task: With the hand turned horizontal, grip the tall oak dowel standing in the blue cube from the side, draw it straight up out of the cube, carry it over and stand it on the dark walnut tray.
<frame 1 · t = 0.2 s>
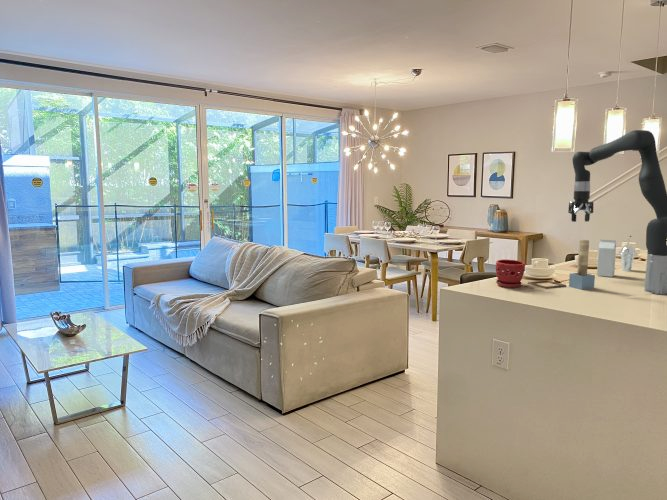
hand: (580, 221, 259), 29 cm above the table, tool pointing down, fingers open, 8 cm apart
oak dowel: (581, 287, 230), point 1 cm above the table, touching blue cube
plant pot: (509, 286, 238), on the table
walnut tray: (546, 286, 235), on the table
blue cube: (581, 289, 230), on the table
cup with straw: (626, 270, 276), on the table
milk carton: (605, 275, 262), on the table
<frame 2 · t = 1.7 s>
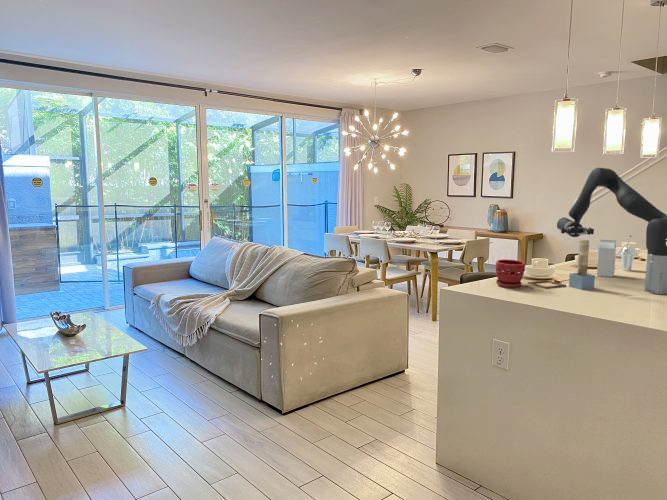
hand: (579, 232, 237), 25 cm above the table, tool horizontal, fingers open, 8 cm apart
nothing on the table moved.
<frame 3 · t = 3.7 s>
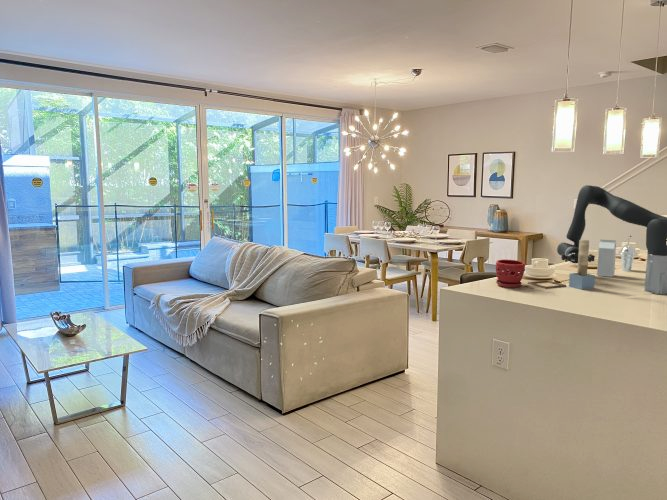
hand: (580, 259, 234), 13 cm above the table, tool horizontal, fingers open, 8 cm apart
nothing on the table moved.
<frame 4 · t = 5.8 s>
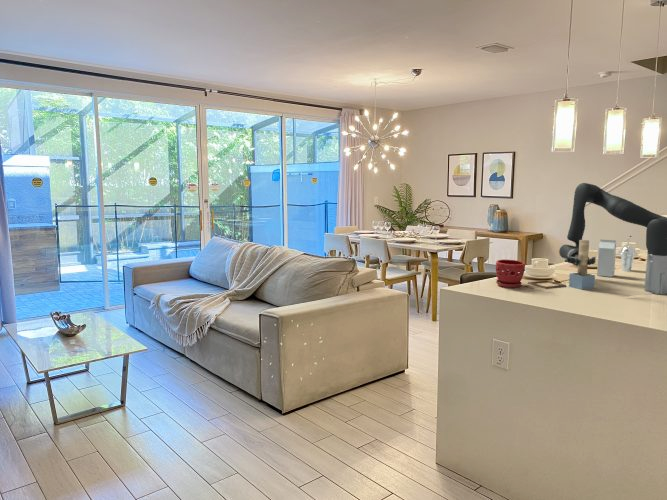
hand: (584, 262, 225), 13 cm above the table, tool horizontal, fingers closed on oak dowel, 4 cm apart
oak dowel: (581, 287, 230), point 1 cm above the table, touching gripper, blue cube
everything else where it was.
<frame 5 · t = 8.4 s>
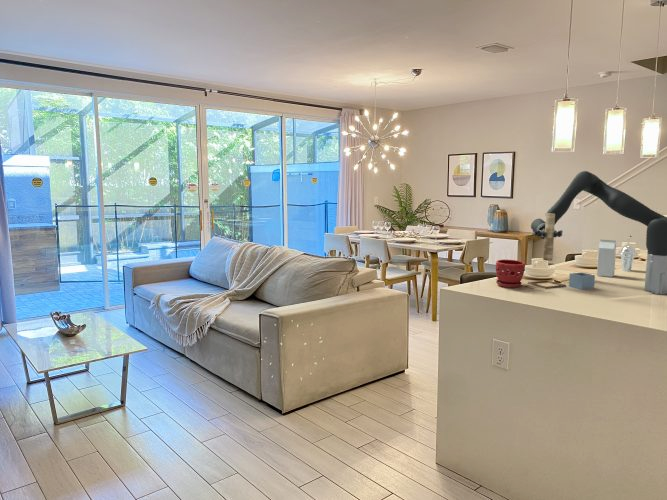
hand: (550, 235, 230), 25 cm above the table, tool horizontal, fingers closed on oak dowel, 4 cm apart
oak dowel: (547, 260, 234), point 13 cm above the table, touching gripper
everything else where it was.
when the fingers open (14 cm above the table, at t = 10.9 s): oak dowel stays where it is, resting on walnut tray.
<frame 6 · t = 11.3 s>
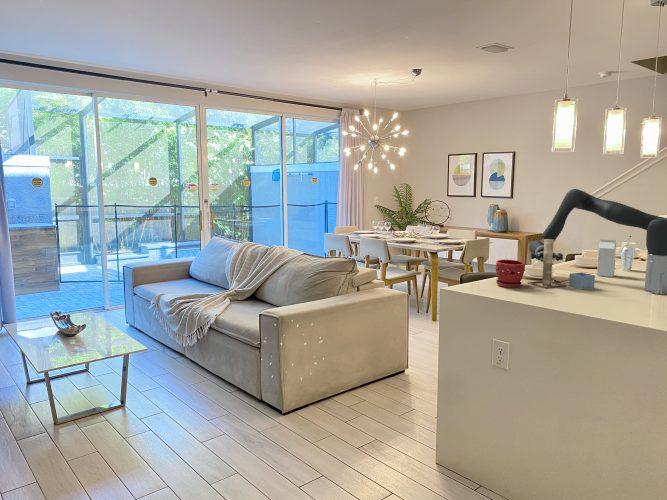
hand: (548, 258, 232), 14 cm above the table, tool horizontal, fingers open, 8 cm apart
oak dowel: (546, 285, 235), point 1 cm above the table, touching walnut tray
everything else where it was.
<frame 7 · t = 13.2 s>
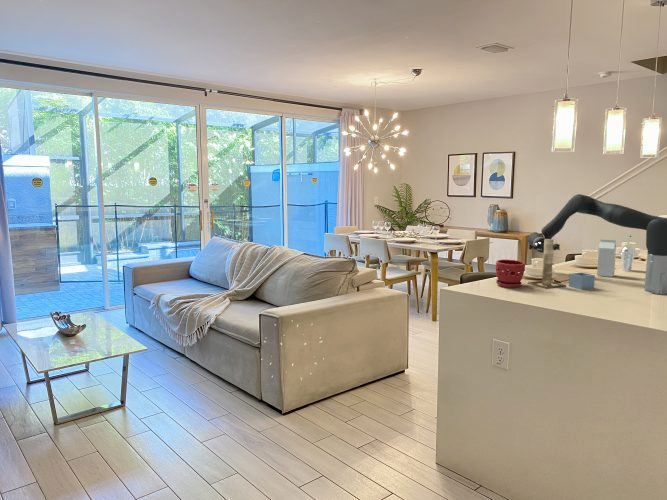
hand: (545, 248, 243), 17 cm above the table, tool horizontal, fingers open, 8 cm apart
nothing on the table moved.
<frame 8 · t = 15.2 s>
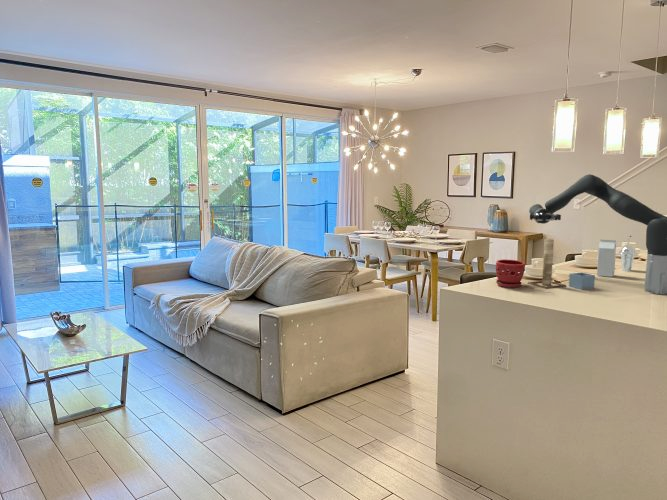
hand: (546, 218, 242), 32 cm above the table, tool horizontal, fingers open, 8 cm apart
nothing on the table moved.
at the end: oak dowel inside the target area on the walnut tray (0.1 cm from its centre), point 0.6 cm above the walnut tray's base; oak dowel tilted 1°; the gripper is holding nothing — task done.
